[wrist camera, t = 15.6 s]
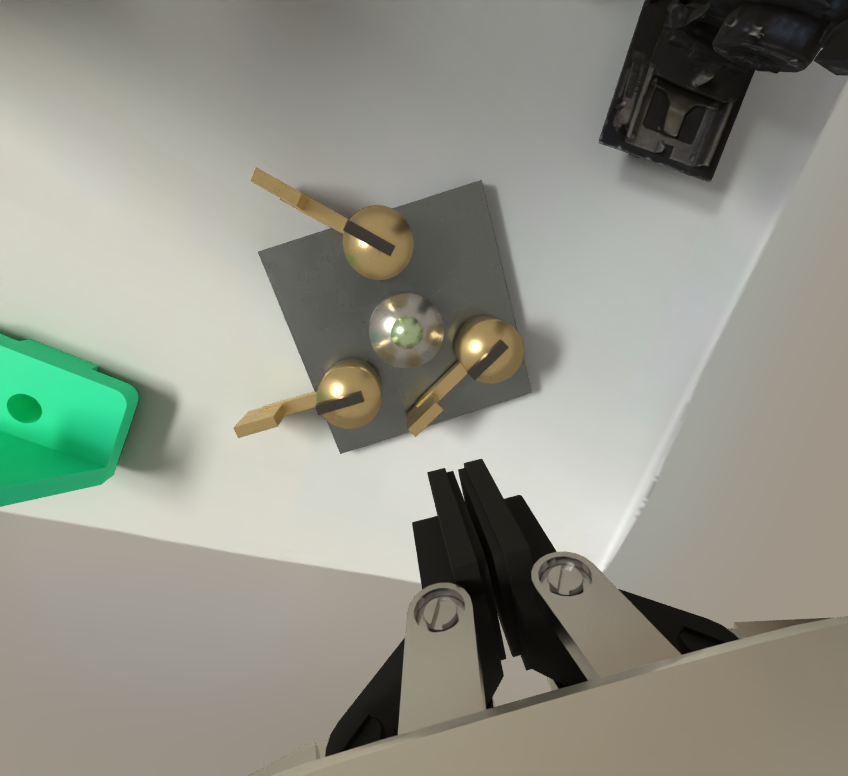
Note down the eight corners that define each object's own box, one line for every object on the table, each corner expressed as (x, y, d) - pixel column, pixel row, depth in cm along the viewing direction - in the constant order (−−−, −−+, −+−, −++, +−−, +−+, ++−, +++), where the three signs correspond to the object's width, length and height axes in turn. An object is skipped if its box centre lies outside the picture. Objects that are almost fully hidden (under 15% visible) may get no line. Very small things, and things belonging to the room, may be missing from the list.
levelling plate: (262, 252, 30) (245, 250, 26) (477, 183, 30) (490, 172, 26) (341, 447, 34) (336, 469, 31) (526, 388, 34) (543, 403, 31)
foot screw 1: (421, 231, 29) (426, 227, 25) (393, 289, 30) (394, 292, 26) (281, 151, 27) (266, 134, 23) (255, 216, 28) (237, 209, 24)
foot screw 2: (371, 351, 31) (369, 361, 27) (388, 405, 32) (389, 421, 29) (238, 389, 31) (220, 405, 27) (261, 442, 32) (247, 462, 29)
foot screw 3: (484, 303, 31) (497, 307, 27) (523, 344, 32) (539, 353, 28) (388, 399, 32) (389, 414, 29) (428, 435, 33) (433, 454, 30)
